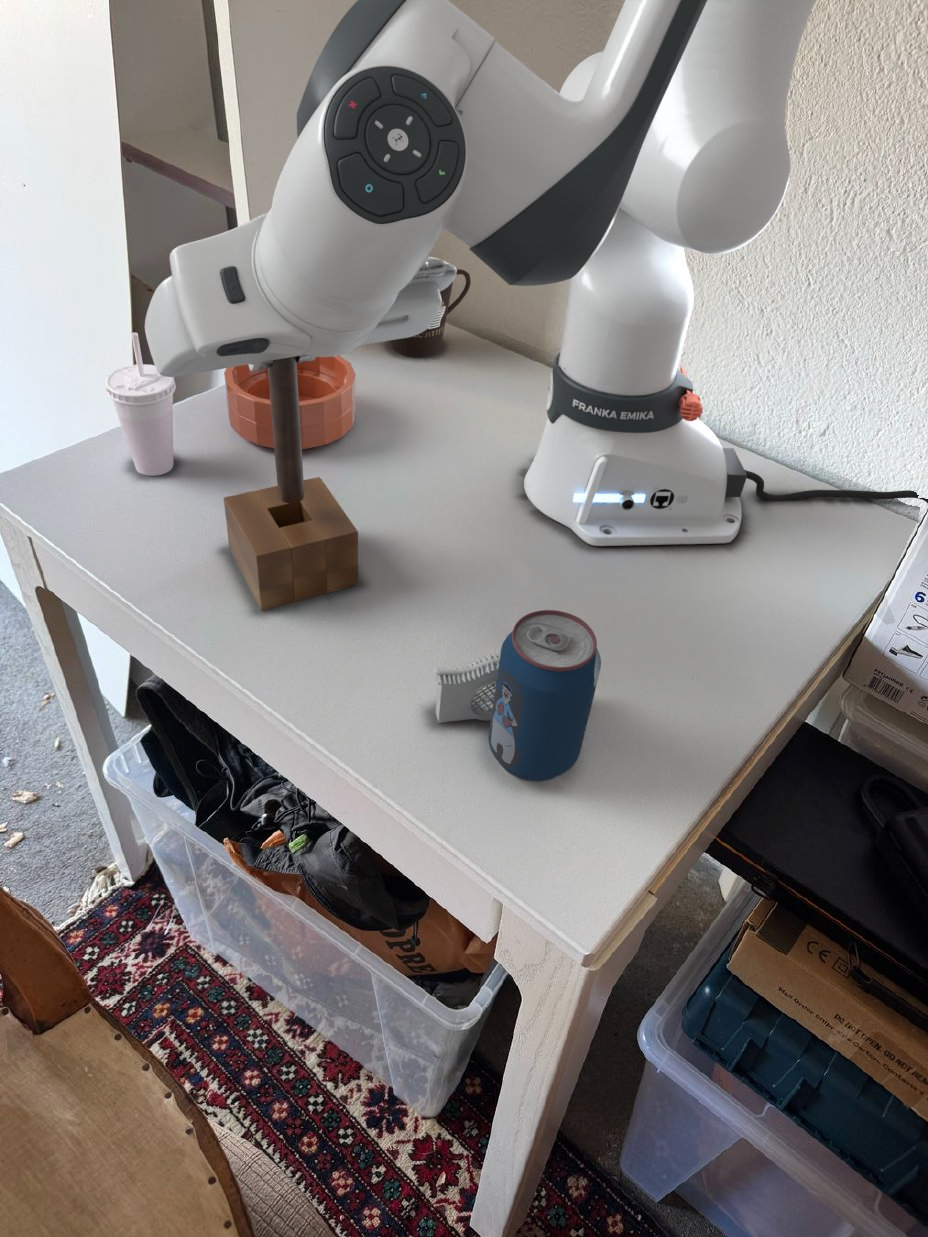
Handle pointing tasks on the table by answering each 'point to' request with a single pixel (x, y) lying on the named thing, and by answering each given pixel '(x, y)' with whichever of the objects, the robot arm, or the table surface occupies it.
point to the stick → (286, 429)
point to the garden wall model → (466, 690)
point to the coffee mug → (431, 326)
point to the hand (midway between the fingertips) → (278, 356)
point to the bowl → (320, 401)
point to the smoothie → (144, 413)
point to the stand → (292, 544)
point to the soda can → (543, 695)
